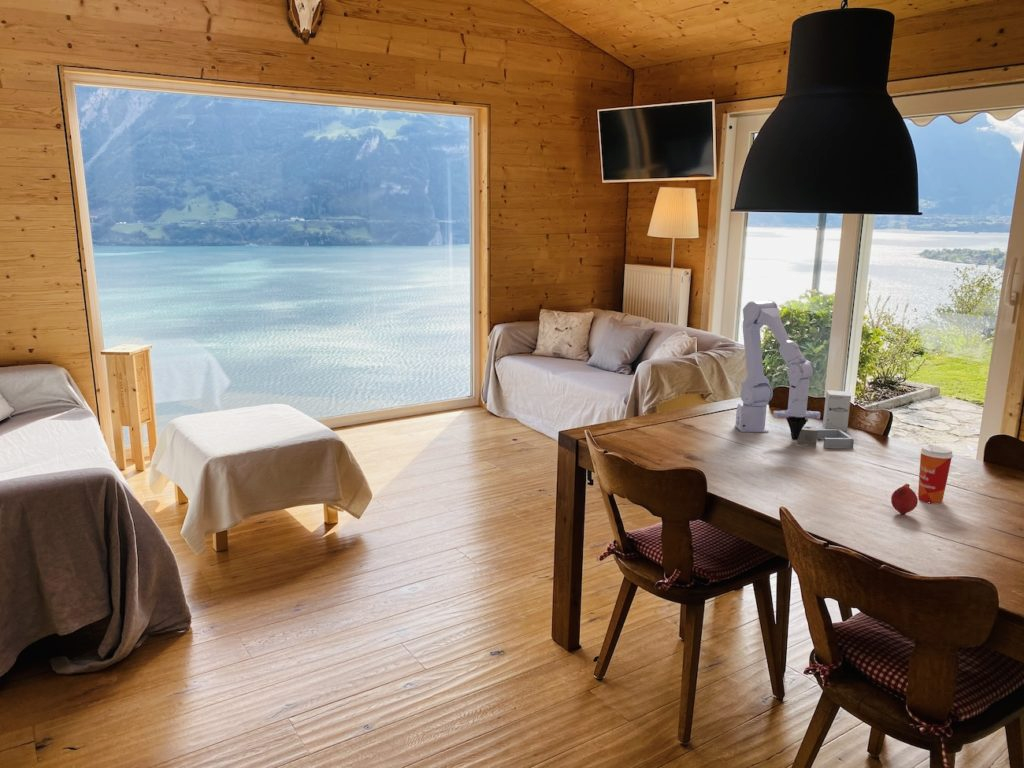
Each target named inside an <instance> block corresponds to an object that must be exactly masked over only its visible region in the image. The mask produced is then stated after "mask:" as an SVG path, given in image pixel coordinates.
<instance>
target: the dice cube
mask: <svg viewBox="0 0 1024 768" xmlns="http://www.w3.org/2000/svg"><path fill="white" fill-rule="evenodd" d="M817 429H818V428H816V426H812V425H804V426H803V428H802V429H801V431H800V434H799V436H798V439H797V440H796V441H797V442H798V444H799V445H800V444H801V446H814V445H816V446H817V441H818V439H817V433H818V430H817Z"/></svg>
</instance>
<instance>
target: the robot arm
mask: <svg viewBox="0 0 1024 768" xmlns="http://www.w3.org/2000/svg"><path fill="white" fill-rule="evenodd" d="M780 313H781V310H780V308H779V307H778V304H777V303H776V302H775V301H774V300H771V299H767V300H763V301H762V300H761V301H760V300H759V301H752V300H751V301H748V302H747V303H746V305H745V306H744V307H743V308H742V316H743V317H742V318H743V320H742V335H743V336H742V337H743V346H744V347H743V349H744V355H745V367H746V377H745V378H744V380H742V382H741V389H740V394H739V395H740V400H741V401H742V402H743V403H739V404H737V406H736V412H735V413H736V414H735V424H734V426H735V427H736V428H737V429H738V431H740V432H743V433H744V432H745V433H752V432H753V433H768V432H769V430H768V429H767V428H766V418H767V406H768V405H769V402H770V401H771V400H772V399H773V396H774V395H773V394H774V392H773V388H772V387H771V383H770V380H769V378H768V377H767V376H765V374H764V373H765V372H764V362H763V352H762V351H763V350H762V340H761V329H762V328H763V326H767V328H768V329H769V331H771V333H772V335H773V337H774V338H775V340H776V341H777V343H778V344H779V349H778V352H779V353H780V355H781V357H782V359H783V361H784V363H785V365H786V366H787V368H788V369H786V374H787V377H788V383H789V389H788V390H789V392H788V402H787V403H788V404H787V409H785V410H784V409H783V410H773V412H772V413H773V414H772V417H773V418H774V419H778V418H779V419H781V418H782V419H785V420H786V421H787V425H788V426H789V430H790V436H791V440H792V441H798V440H797V439H798V436H799V434H800V431H801V429H802V428H803V426H806V424H807V422H806V419H805V418H808V419H816V420H818V419H819V420H820V419H821V412H820V411H815V410H814V411H813V410H812V411H811V410H807V408H808V399H809V391H810V390H809V389H810V379H811V378H813V376H814V375H815V366H814V364H813V362H811V361H809V360H807V358H805V357H804V356H805V355H803V354H802V351H801V349H800V346H799V344H798V343H797V342H796V341H794V340H791V339H790V337H789V335H788V333H787V330H786V328H785V326H784V324H783V321H782V320H781V317H780Z"/></svg>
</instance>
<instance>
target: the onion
mask: <svg viewBox="0 0 1024 768" xmlns="http://www.w3.org/2000/svg"><path fill="white" fill-rule="evenodd" d="M890 501H891V505H892V507H893V509H895V510H896V511H897V512H898V513H899V514H900V515H906V514H909V513H910V512H912V511H913V510H915V509H916V508H917V506H918V501H919V499H918V495H917V494H916V493H915V491H914V490H913V489H912V488H911V487H910V484H909V483H904V484H903V485H902V486H901V487H899V488H897V489H895V490H894V491H893V492H892V494H891V498H890Z"/></svg>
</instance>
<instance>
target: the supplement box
mask: <svg viewBox="0 0 1024 768" xmlns="http://www.w3.org/2000/svg"><path fill="white" fill-rule="evenodd" d="M824 399H825V400H824V410H823V419H822V426H823V429H840V430H842V431H843V432H847V431H848V426H849V425H848V424H849V415H850V410H851V409H850V408H851V399H852V396H851V394H850V392H849V391H844V390H843V391H842V390H841V391H840V390H833V389H832V390H831V389H830V390H829V389H827V390H826V392H825V398H824Z"/></svg>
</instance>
